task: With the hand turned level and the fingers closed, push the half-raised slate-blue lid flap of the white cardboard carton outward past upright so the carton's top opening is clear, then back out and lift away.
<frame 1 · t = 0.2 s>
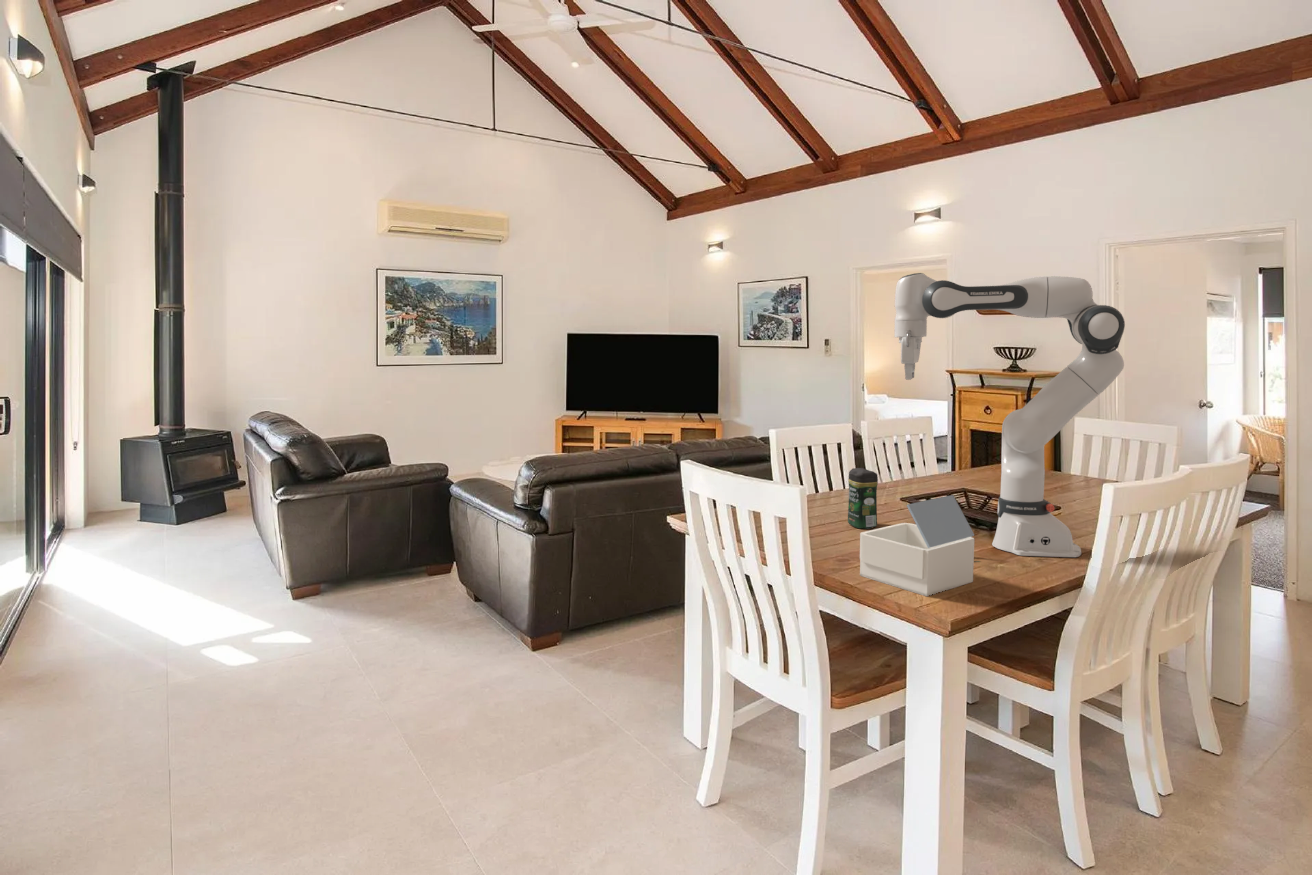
hand: (909, 379, 224), 48 cm above the table, tool pointing down, fingers open, 8 cm apart
coffee jar: (862, 526, 247), on the table
carton: (915, 578, 193), on the table
eiffel tower figurine: (950, 557, 213), on the table
lid flap: (941, 520, 185), point 16 cm above the table, hinge at 55.0°
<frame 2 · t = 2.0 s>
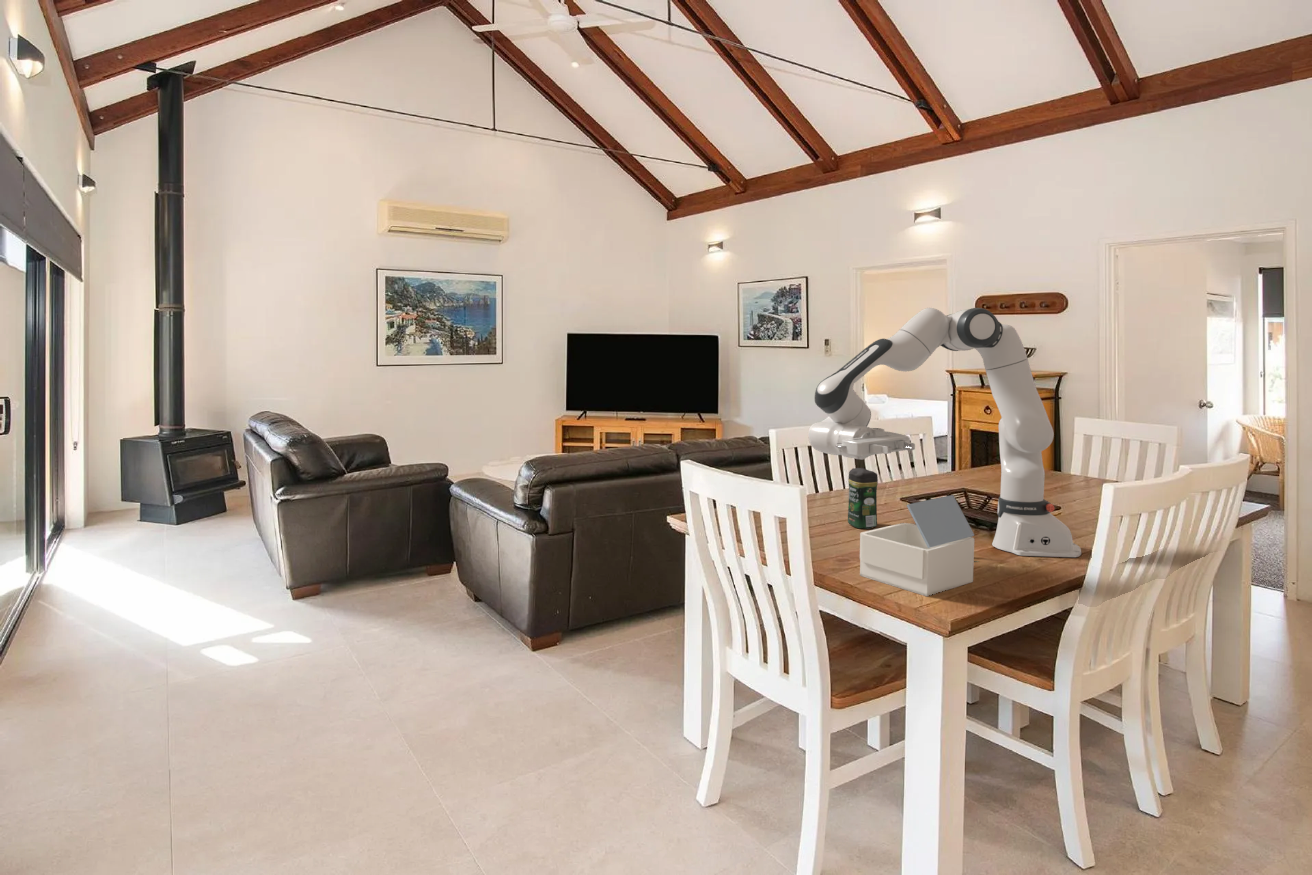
hand: (901, 448, 193), 32 cm above the table, tool horizontal, fingers open, 8 cm apart
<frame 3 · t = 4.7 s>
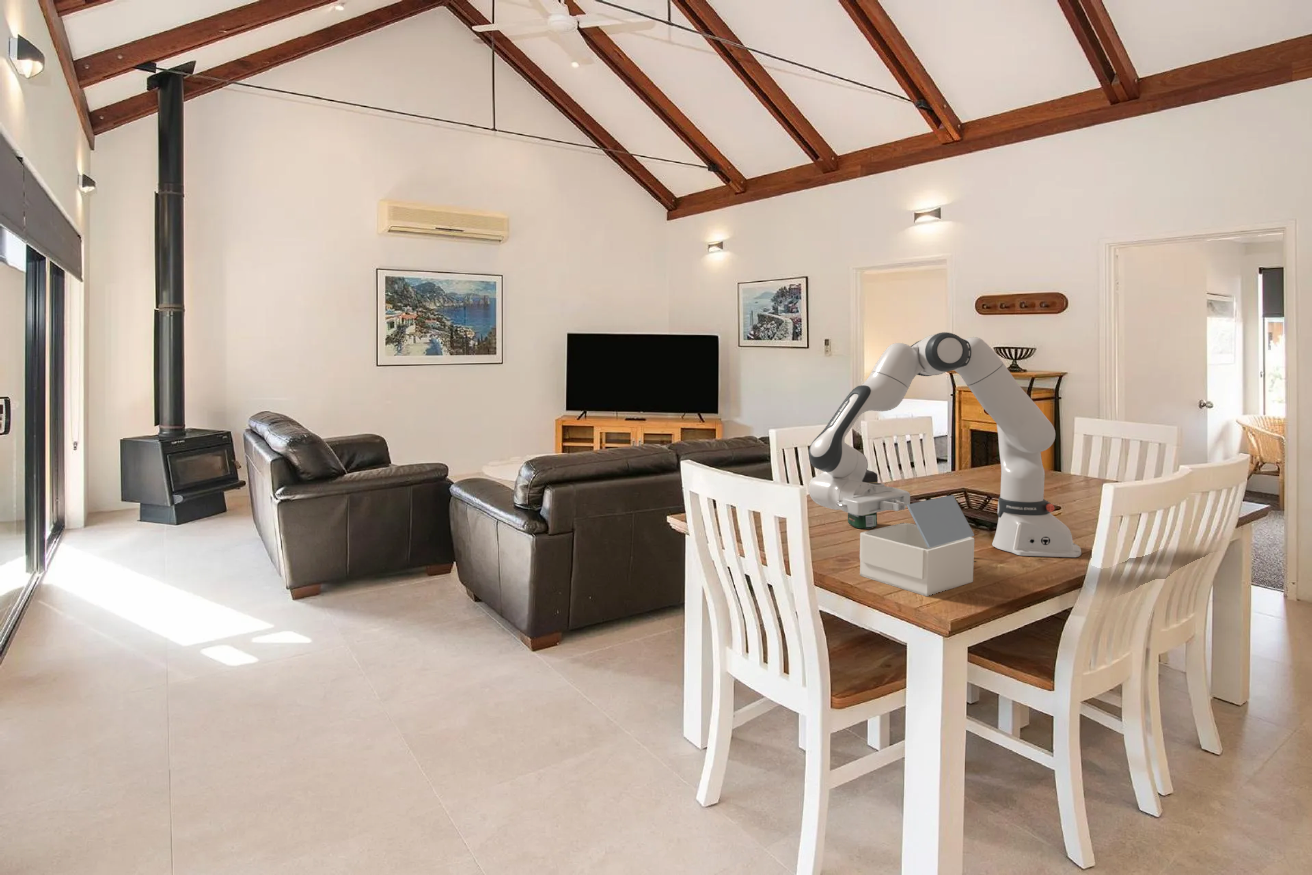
hand: (901, 507, 195), 17 cm above the table, tool horizontal, fingers closed
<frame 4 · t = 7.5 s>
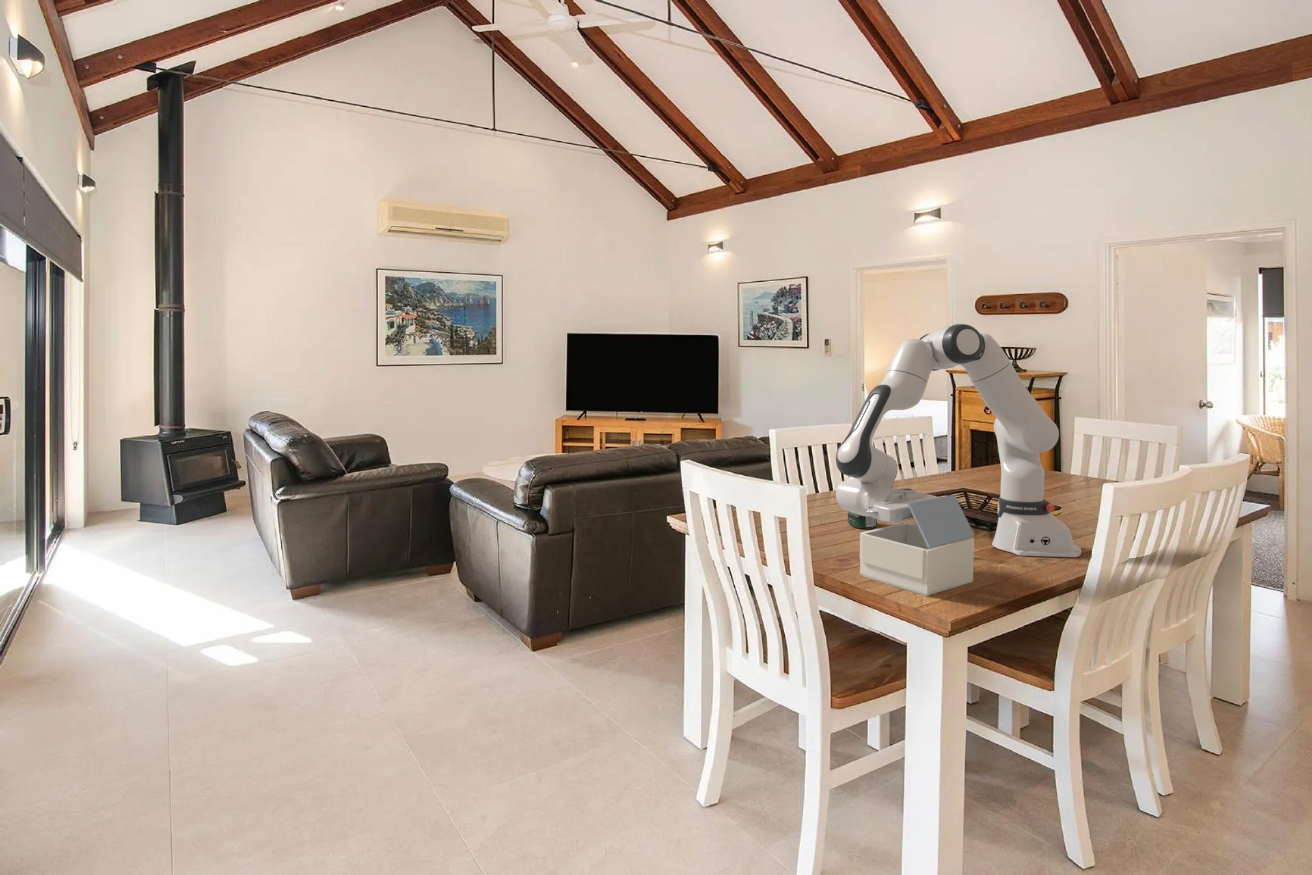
hand: (935, 514, 186), 17 cm above the table, tool horizontal, fingers closed, pressing on lid flap
lid flap: (941, 520, 185), point 16 cm above the table, hinge at 57.1°, touching gripper
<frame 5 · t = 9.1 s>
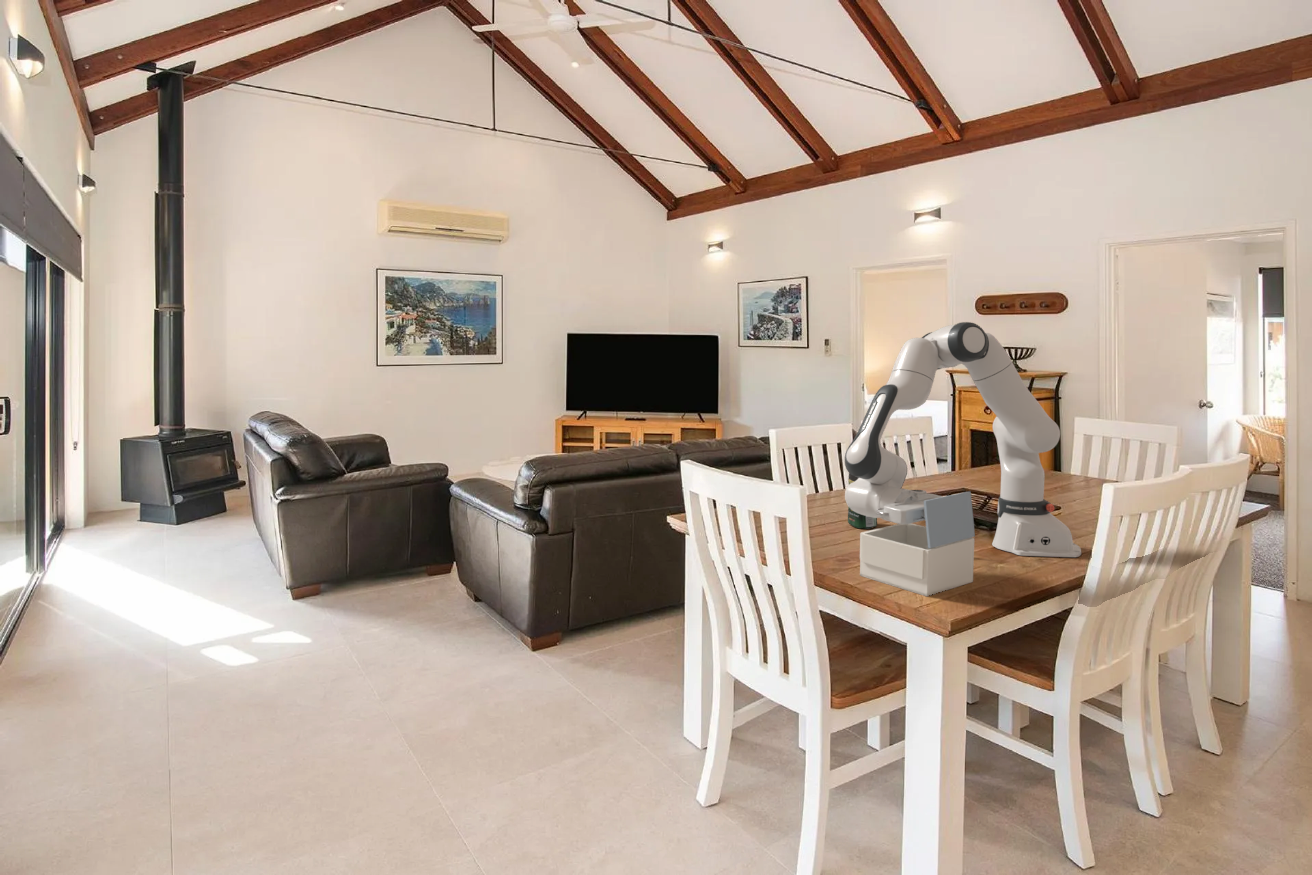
hand: (947, 515, 183), 18 cm above the table, tool horizontal, fingers closed, pressing on lid flap
lid flap: (949, 519, 183), point 17 cm above the table, hinge at 81.6°, touching gripper
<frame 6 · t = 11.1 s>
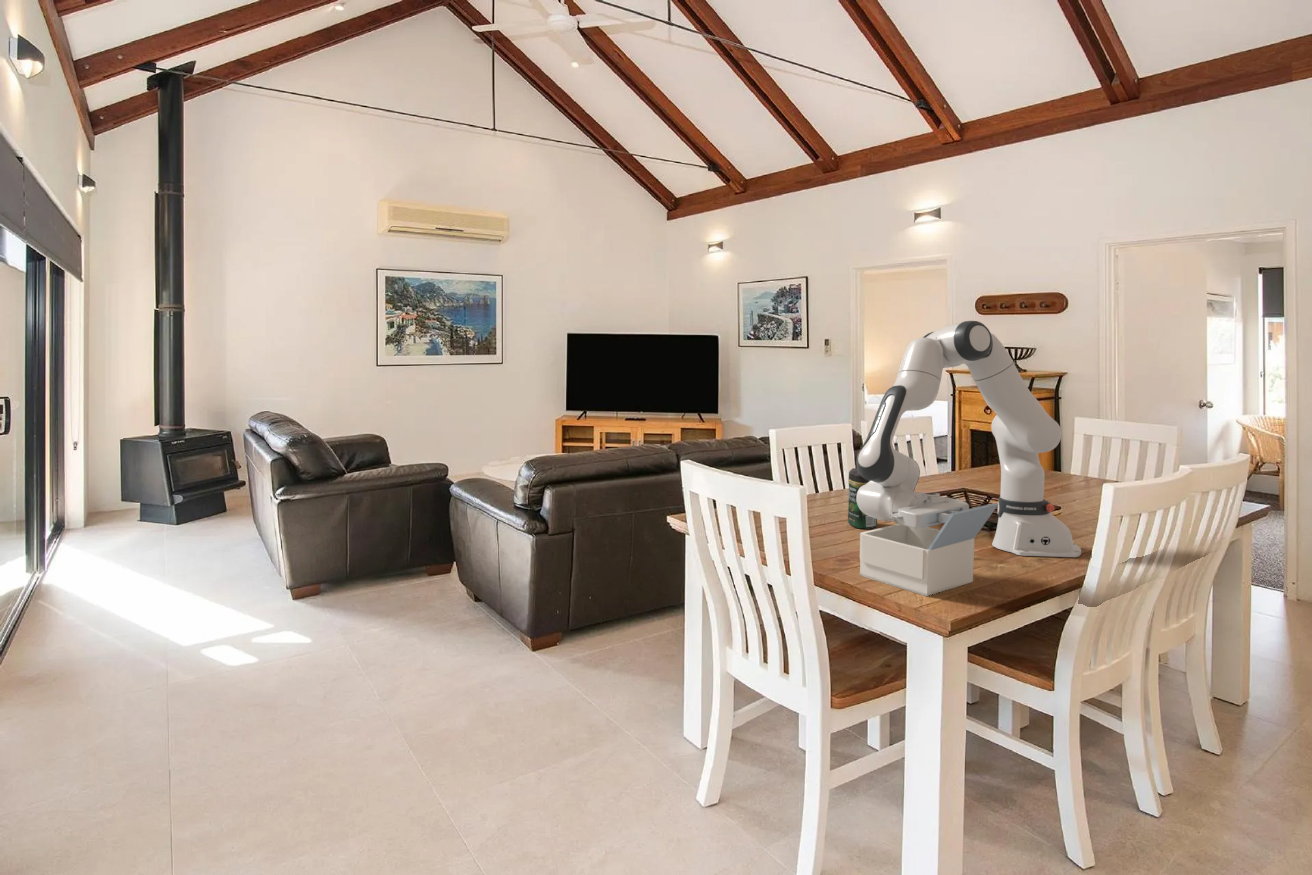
hand: (962, 519, 180), 17 cm above the table, tool horizontal, fingers closed
lid flap: (963, 526, 180), point 16 cm above the table, hinge at 122.0°
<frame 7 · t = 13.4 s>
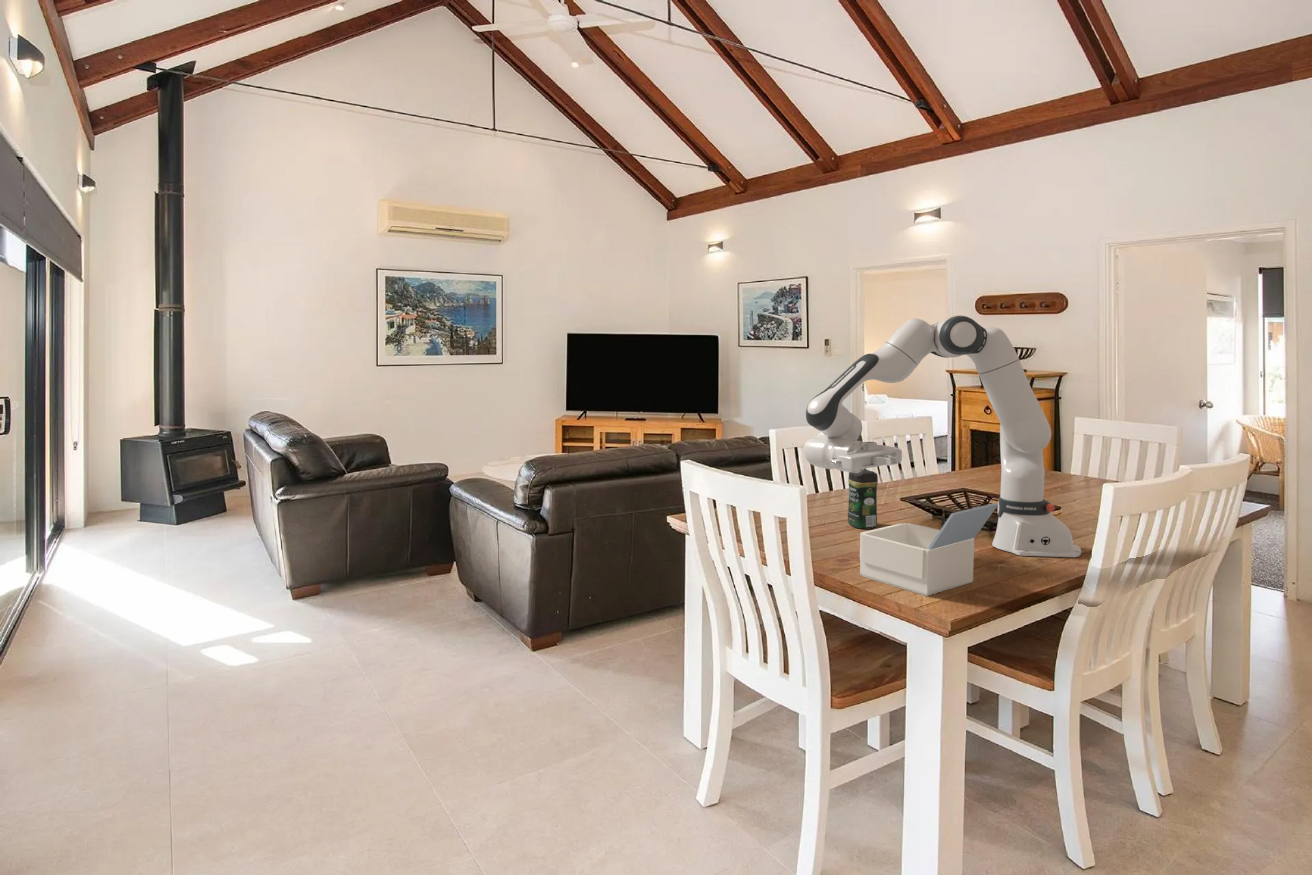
hand: (894, 461, 201), 28 cm above the table, tool horizontal, fingers closed
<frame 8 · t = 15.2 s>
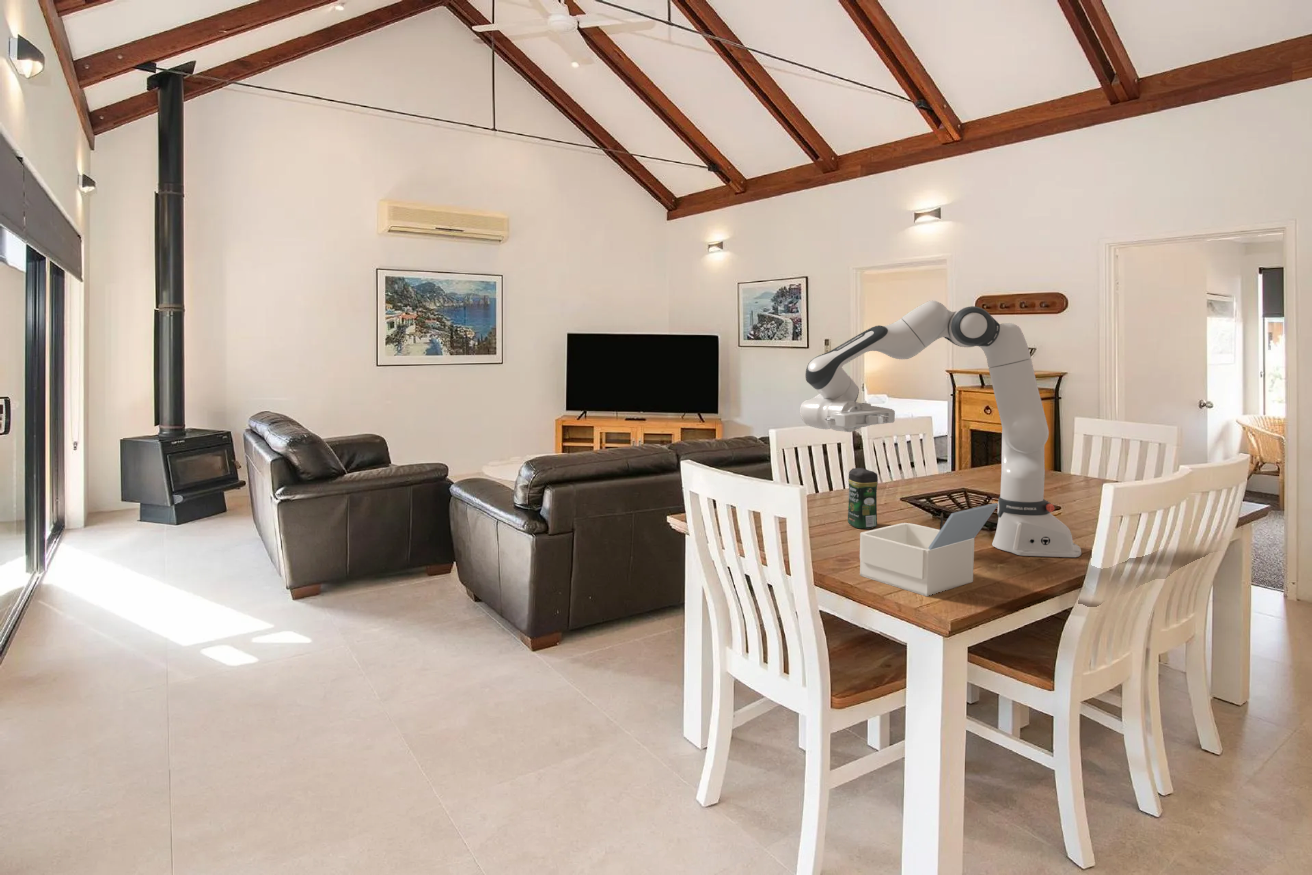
hand: (886, 420, 207), 38 cm above the table, tool horizontal, fingers closed
at the end: lid flap at +122° (first picture: +55°) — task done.
